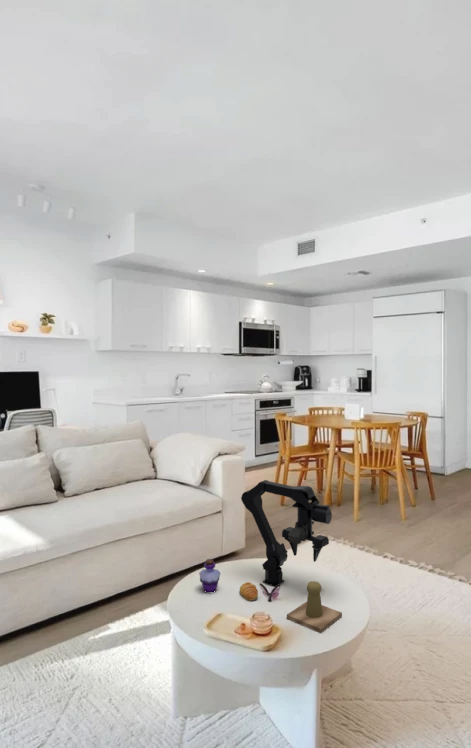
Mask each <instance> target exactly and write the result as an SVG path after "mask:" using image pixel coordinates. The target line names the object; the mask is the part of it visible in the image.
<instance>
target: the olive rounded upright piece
mask: <svg viewBox="0 0 471 748" xmlns="http://www.w3.org/2000/svg"><path fill="white" fill-rule="evenodd" d="M306 591H307V600H306V602H307V606H306V615H307V616H309V617H311V618H319V617H321V616H322V615H323V612H322V598H321V592H322V585H321V584H320V582H318V581H309V582H308V583H307V584H306Z"/></svg>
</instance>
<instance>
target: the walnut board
mask: <svg viewBox="0 0 471 748" xmlns="http://www.w3.org/2000/svg"><path fill="white" fill-rule="evenodd" d="M321 605H322V604H321ZM306 606H307V601H305V602H303V603H302V604H301V605H299V606H297V607H296V608H295V609H292V610H291V611H289V613H287V614H286V620H288V621H291V622H292V623H295V624H298V625H301V626H303V627H306V628H308V629H310V630H312V631H314V632H317V633H319V634H322V633H323V632H324V631H326V630H327V629H328V628H329V627H331V626H332V625H334V624H335V623H336V622H337V621H339V620H340V619H341V618H342V617H343V612H341V611H339V610H336V609H333V608H331V607H328V606H325V605H322V612H323V615H322V616H321V617H319V618H311V617H309V616H307V615H306Z"/></svg>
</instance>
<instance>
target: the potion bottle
mask: <svg viewBox="0 0 471 748" xmlns="http://www.w3.org/2000/svg"><path fill="white" fill-rule="evenodd" d="M203 565H204V566H203V567H204V569H201V570H200V571H199V573H198V575H199V582H200V583H201V585H202V590H203V589H204V591H206V592H214V591H215V590H216V591H218V590H217V589H218V584H219V581H220V577H221V571H220V570H219V569H216V562H215V561H214V559H213V558H207V559H206V561H205V562H204V563H203ZM204 591H203V592H204ZM216 591H215V592H216ZM206 592H205V593H206ZM215 592H214V593H215Z"/></svg>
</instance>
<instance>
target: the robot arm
mask: <svg viewBox="0 0 471 748" xmlns="http://www.w3.org/2000/svg"><path fill="white" fill-rule="evenodd" d="M265 493H269V494H273V495H277V496H282V497H285V498H289V499H291V500H292V501H294V504H292V508H297V509H296V510H297V513H296V514H297V518H296V519H297V521H296V522H295V523H294V524H295V525H294V527H292V526H288V527H286V528H284V529H282V531H281V537H282V538H284V540H286V541H287V542H288V543H289V546H290V548H291V551H292V554H293V556H295V557H296V556H297V552H298V545H299V544H301V543H302V542H306V541H309V542H312V543H311V544H312V546H311V547H312V550H313V554H312V557H313V558H312V559H313V562H314V563H315V562H316V561H317V560H318V558H319V555H320V553H321V551H322V549H323V548H325V547H327V546H328V545H329V544H330V539H329V537H328V536H325V535H322V534H319V535H317V536H314V535H315V531H313V525H315V523H320V524H326V525H329V524H331V521H332V517H333V516H332V515H333V514H332V510H331V508H330V505H328V504H327V505H326V504H321V503H320V501H319V499H318V498H317V496H316V494H315V492H314V489H313V488H312V487H311V486H309V485H295V486H294V485H293V486H292V485H288V484H284V483H279V482H273V481H271V480H267V479H264V480H262V481H259V482H258V484H256V485H255V486H253V487H252V488H251V489H248V490H247V491H244V492H243V493H242V494H241V497H240V499H241V502H242V504H243V507H244V508H245V509H246V510H247V511H248V512H250V513H251V515H252V517H253V519H254V521H255V524H256V526H257V529H258V530H259V533H260V535H261V538H262V539H263V542H264V544H265V545H264V546H265V555H266V559H267V560H265V561H264V562H263V563H262V564H261V565H262V569H263V570H264V573H265V574H264V575H265V576H264V577H265V578H264V579H263V580H262V583H265V584H267V585H270V586H272V587H277V586H279V585H281V584H282V583H284V582H285V580H284V579H283V575H284V573H283V571H282V570H283V568H282V567H281V566H283V565H284V563H285V562H286V561H287V560H288V550H287V549H286V545H285V544H284V543H280V542H279V541H277V538H276V536H275V534H274V532H273V529H272V527H271V525H270V523H269V521H268V518H267V516H266V514H265V511H264V508H263V497H262V496H263V495H264V494H265ZM276 585H277V586H276Z"/></svg>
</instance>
